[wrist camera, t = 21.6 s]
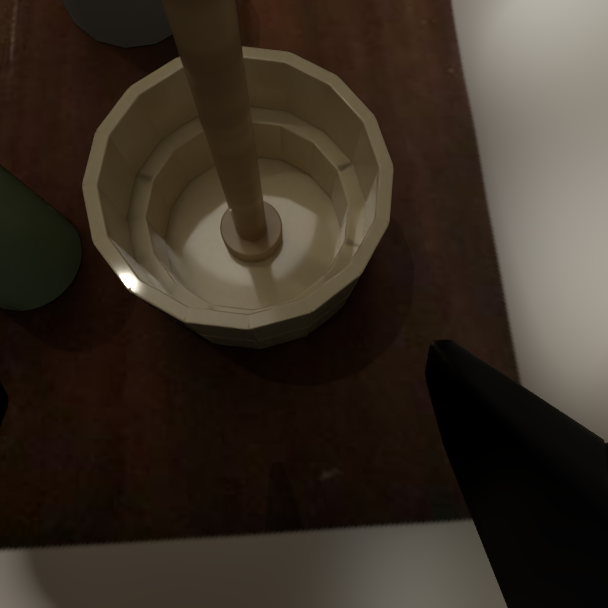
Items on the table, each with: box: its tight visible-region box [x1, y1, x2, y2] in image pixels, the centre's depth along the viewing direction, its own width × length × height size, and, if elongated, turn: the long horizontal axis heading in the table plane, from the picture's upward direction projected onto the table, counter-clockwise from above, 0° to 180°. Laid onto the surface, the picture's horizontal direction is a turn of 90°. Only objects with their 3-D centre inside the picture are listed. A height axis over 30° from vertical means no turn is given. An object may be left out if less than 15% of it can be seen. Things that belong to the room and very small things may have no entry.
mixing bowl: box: [82, 46, 394, 349], centre depth 20 cm, size 12×12×7 cm
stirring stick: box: [162, 0, 282, 262], centre depth 15 cm, size 3×3×17 cm
